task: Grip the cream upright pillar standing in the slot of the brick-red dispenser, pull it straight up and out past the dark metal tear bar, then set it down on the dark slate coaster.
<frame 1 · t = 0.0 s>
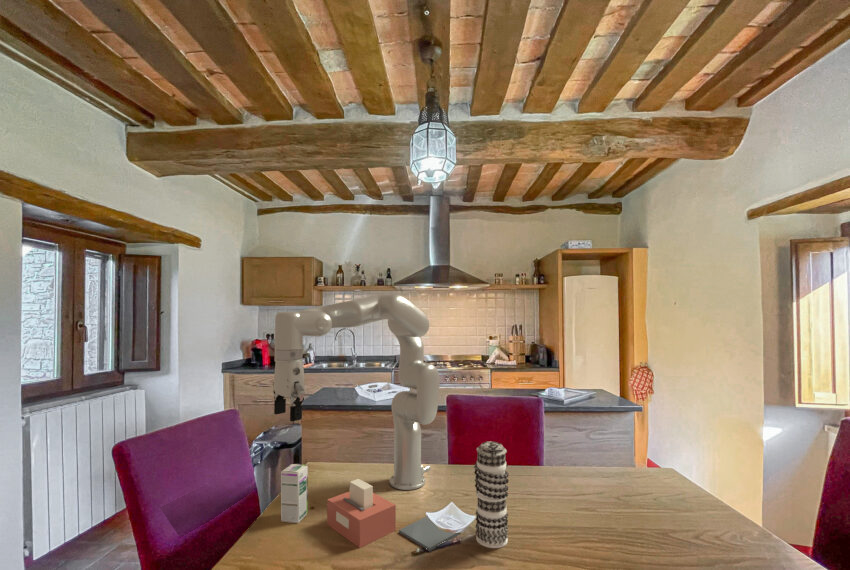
hand: (287, 416, 117), 31 cm above the table, tool pointing down, fingers open, 9 cm apart
coaster: (429, 533, 115), on the table
syrup box: (294, 518, 123), on the table
dispenser: (360, 527, 118), on the table
cream upright pillar: (360, 516, 118), point 3 cm above the table, touching dispenser
white patterned cylinder: (491, 539, 112), on the table
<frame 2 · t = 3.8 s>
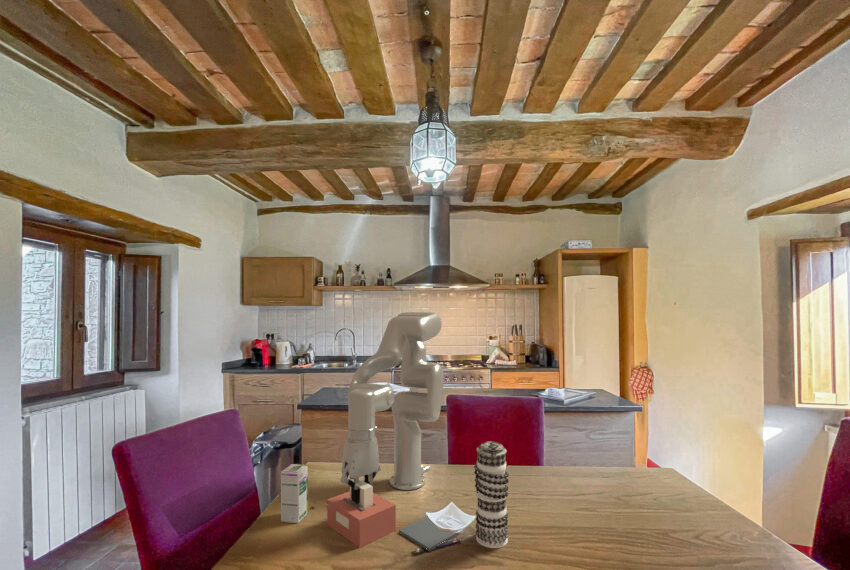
hand: (361, 499, 118), 8 cm above the table, tool pointing down, fingers closed on cream upright pillar, 3 cm apart
cream upright pillar: (360, 516, 118), point 3 cm above the table, touching dispenser, gripper
everything else where it was.
when the fingers open (7 cm above the table, at t = 10.2 s): cream upright pillar drops 1 cm, resting on coaster.
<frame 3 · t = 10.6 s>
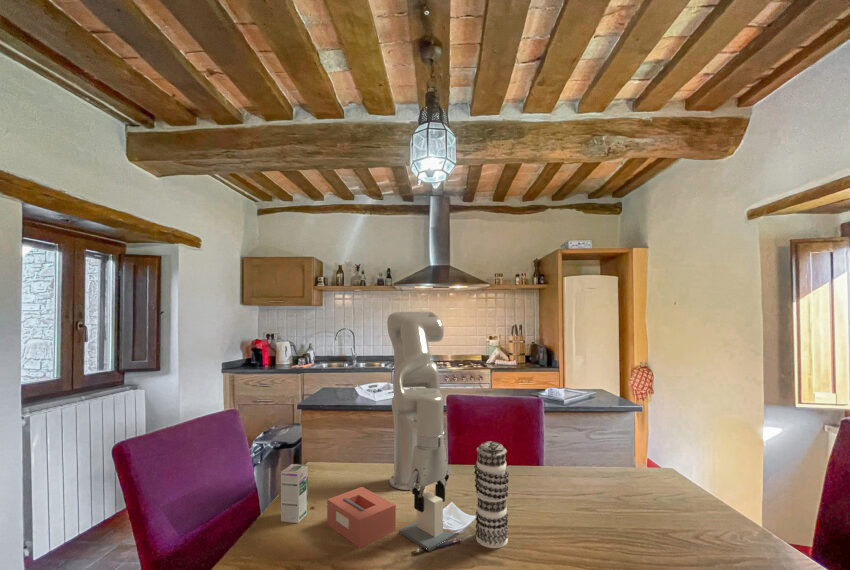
hand: (429, 504, 115), 8 cm above the table, tool pointing down, fingers open, 7 cm apart
cream upright pillar: (429, 529, 115), point 1 cm above the table, touching coaster
everything else where it was.
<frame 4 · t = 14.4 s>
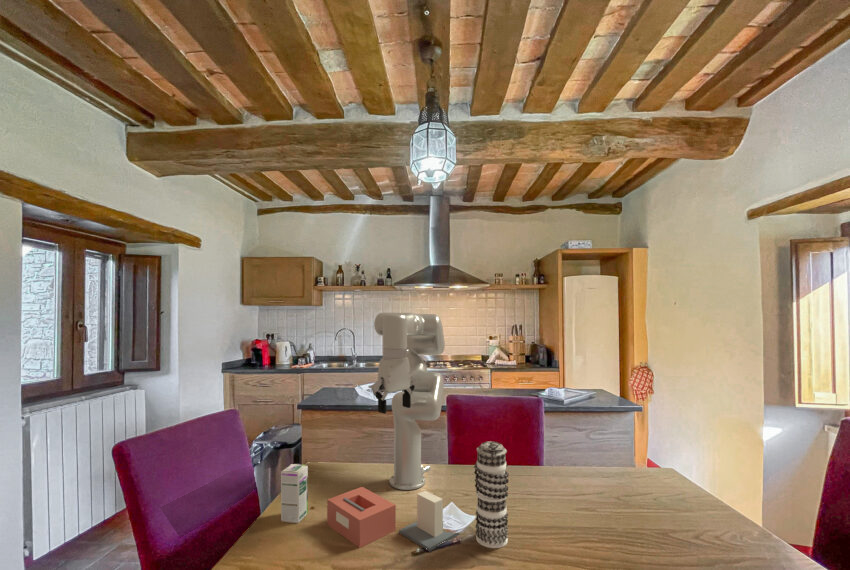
hand: (394, 409, 129), 30 cm above the table, tool pointing down, fingers open, 9 cm apart
nothing on the table moved.
at the end: cream upright pillar inside the target area on the coaster (0.1 cm from its centre), point 0.8 cm above the coaster's base; cream upright pillar touching coaster; the gripper is holding nothing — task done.
